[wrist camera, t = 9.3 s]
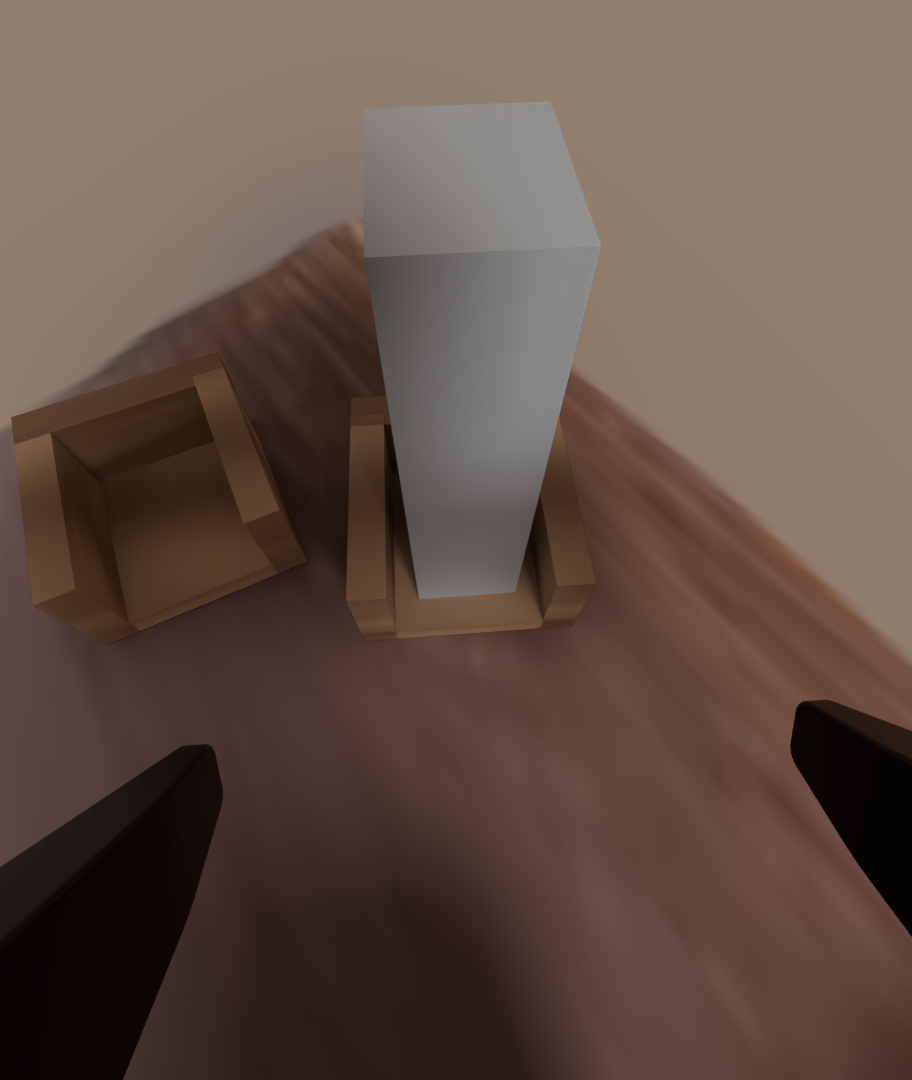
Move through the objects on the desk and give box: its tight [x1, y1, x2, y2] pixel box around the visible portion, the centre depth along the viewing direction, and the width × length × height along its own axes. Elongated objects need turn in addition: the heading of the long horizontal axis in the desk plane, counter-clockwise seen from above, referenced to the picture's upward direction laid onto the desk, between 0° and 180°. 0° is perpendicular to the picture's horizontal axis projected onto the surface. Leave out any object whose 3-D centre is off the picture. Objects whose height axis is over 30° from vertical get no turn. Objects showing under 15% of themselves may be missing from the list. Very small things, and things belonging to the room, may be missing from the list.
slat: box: [364, 102, 601, 599], centre depth 15 cm, size 4×4×13 cm
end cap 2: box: [346, 396, 596, 641], centre depth 20 cm, size 8×8×4 cm
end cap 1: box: [11, 353, 308, 645], centre depth 20 cm, size 8×8×4 cm
